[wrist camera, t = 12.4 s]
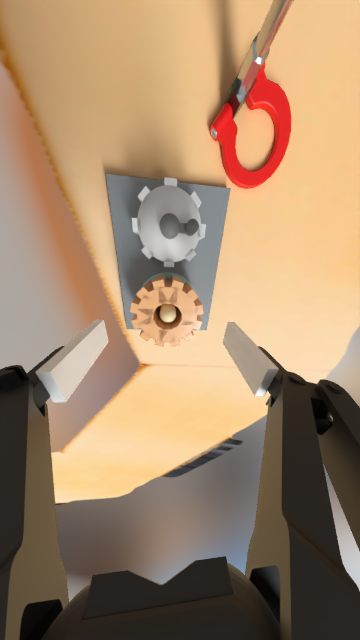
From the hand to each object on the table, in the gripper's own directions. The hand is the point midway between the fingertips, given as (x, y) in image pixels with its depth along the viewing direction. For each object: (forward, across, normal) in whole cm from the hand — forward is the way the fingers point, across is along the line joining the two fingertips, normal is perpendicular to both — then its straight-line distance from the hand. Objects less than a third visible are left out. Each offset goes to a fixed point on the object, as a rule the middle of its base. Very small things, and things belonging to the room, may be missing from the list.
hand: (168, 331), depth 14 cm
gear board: (+12, 0, +5) cm, 13 cm away
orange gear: (+10, 0, 0) cm, 11 cm away
